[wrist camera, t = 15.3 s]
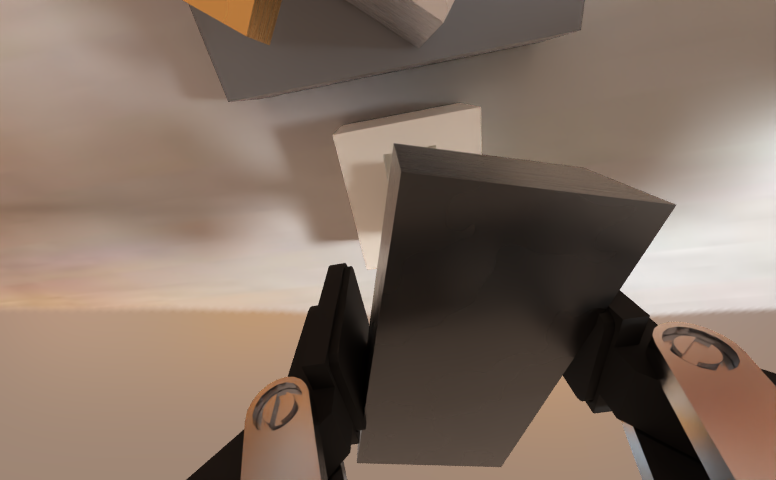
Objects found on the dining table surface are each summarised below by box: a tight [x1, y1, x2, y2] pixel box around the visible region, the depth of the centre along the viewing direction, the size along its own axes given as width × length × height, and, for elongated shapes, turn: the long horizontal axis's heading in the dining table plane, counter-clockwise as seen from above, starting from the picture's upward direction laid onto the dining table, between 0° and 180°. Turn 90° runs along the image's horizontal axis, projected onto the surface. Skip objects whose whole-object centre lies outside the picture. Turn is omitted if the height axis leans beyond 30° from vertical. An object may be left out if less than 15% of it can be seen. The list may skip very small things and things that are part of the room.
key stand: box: [332, 103, 482, 270], centre depth 19 cm, size 8×9×4 cm
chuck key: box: [357, 143, 676, 467], centre depth 12 cm, size 5×9×11 cm, turn 173°
